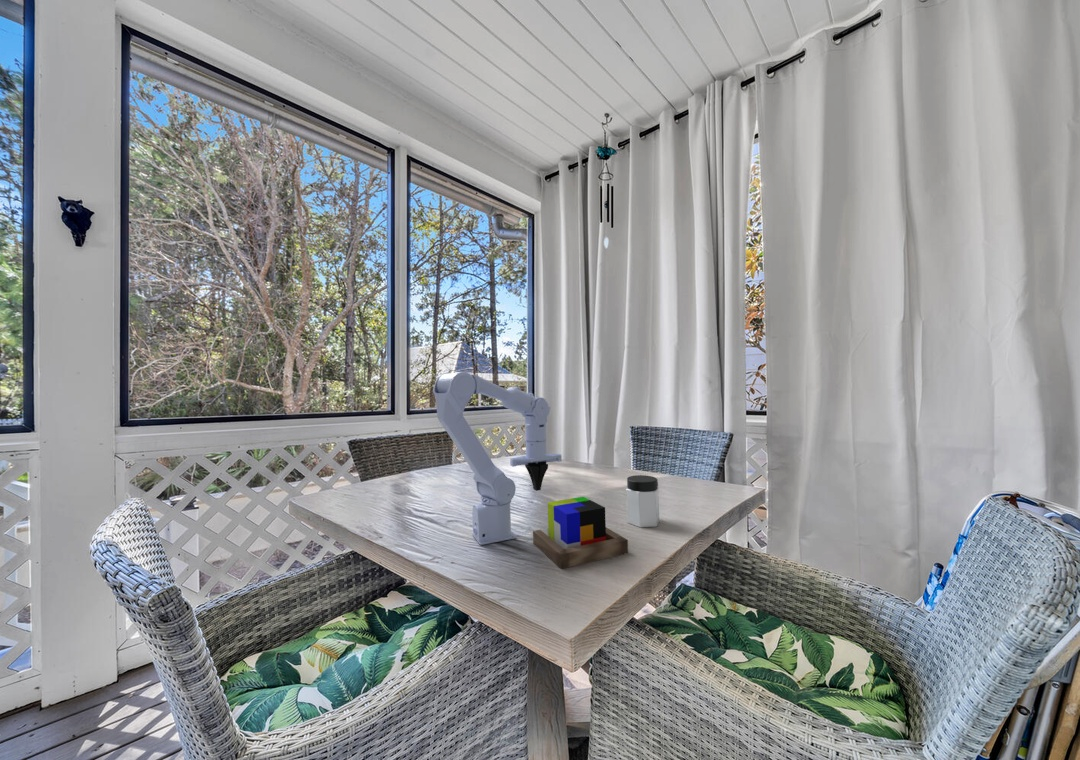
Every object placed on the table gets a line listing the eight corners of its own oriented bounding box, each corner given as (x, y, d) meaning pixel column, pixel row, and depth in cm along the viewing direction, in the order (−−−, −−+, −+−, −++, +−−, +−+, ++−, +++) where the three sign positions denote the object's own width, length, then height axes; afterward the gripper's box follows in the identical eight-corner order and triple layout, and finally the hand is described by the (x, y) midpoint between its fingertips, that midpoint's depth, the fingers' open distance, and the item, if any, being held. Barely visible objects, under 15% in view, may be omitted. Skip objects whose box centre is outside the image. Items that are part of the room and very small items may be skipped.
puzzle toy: (567, 559, 91) (566, 514, 91) (548, 543, 100) (547, 502, 100) (606, 550, 95) (605, 507, 95) (584, 536, 104) (583, 496, 104)
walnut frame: (560, 568, 86) (560, 554, 86) (533, 543, 100) (532, 531, 100) (628, 553, 93) (627, 539, 93) (593, 531, 107) (593, 519, 107)
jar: (666, 523, 111) (665, 479, 111) (646, 530, 106) (645, 484, 106) (640, 514, 118) (639, 473, 118) (620, 521, 114) (619, 477, 114)
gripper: (553, 436, 120) (555, 483, 120) (506, 440, 114) (507, 489, 114) (564, 439, 113) (565, 489, 113) (514, 444, 108) (515, 495, 108)
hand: (537, 489), depth 114 cm, fingers closed
